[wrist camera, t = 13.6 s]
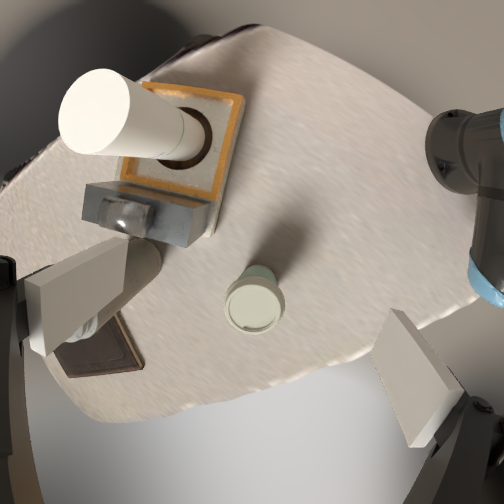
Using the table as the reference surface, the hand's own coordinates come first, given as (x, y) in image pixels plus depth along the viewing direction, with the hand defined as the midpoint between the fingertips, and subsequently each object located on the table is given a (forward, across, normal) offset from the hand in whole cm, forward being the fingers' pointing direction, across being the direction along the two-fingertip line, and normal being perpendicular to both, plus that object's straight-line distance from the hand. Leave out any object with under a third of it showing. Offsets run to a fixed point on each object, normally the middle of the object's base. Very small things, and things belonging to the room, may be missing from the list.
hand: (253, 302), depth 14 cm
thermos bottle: (+37, +20, +14) cm, 44 cm away
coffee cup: (+37, -1, +12) cm, 39 cm away
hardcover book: (+38, +31, +37) cm, 61 cm away
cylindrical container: (+33, +16, -8) cm, 38 cm away
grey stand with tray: (+37, +17, -5) cm, 41 cm away
